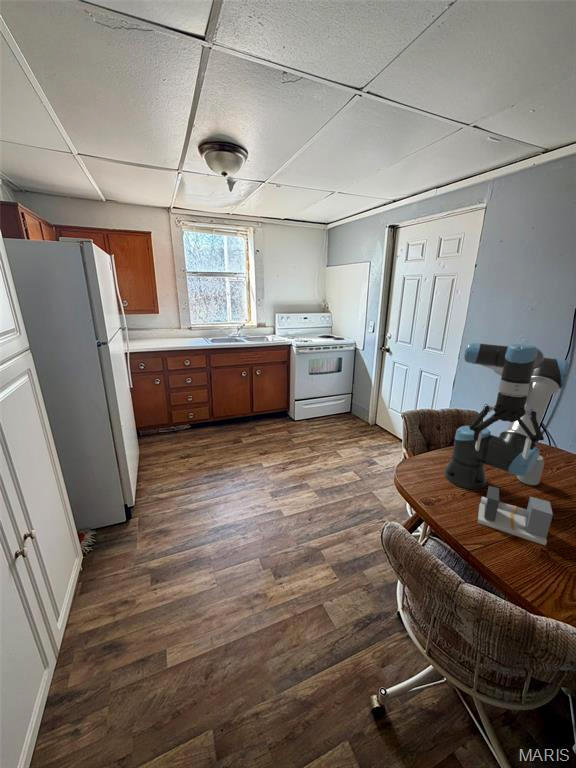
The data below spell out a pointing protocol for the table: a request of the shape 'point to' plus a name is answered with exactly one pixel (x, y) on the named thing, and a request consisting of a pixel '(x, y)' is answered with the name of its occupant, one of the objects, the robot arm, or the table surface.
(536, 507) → the rod stand
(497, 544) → the table surface
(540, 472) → the can
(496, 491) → the collar
